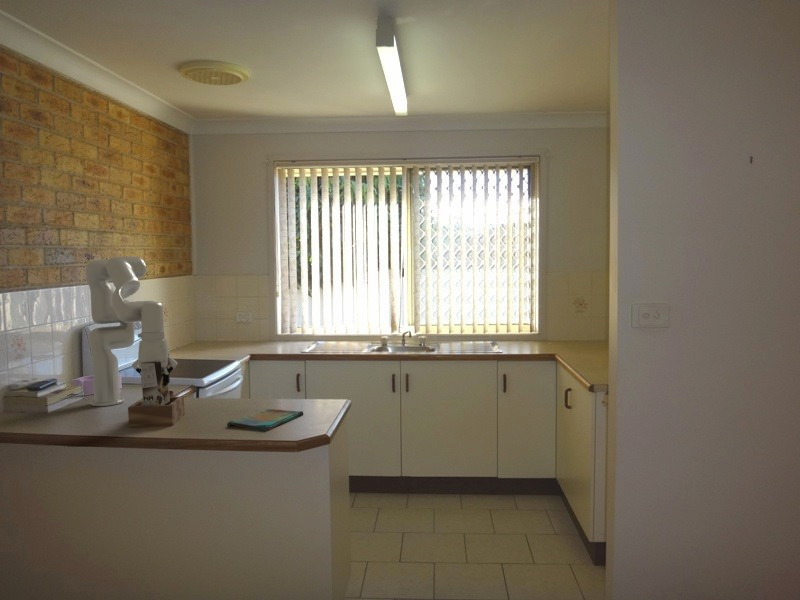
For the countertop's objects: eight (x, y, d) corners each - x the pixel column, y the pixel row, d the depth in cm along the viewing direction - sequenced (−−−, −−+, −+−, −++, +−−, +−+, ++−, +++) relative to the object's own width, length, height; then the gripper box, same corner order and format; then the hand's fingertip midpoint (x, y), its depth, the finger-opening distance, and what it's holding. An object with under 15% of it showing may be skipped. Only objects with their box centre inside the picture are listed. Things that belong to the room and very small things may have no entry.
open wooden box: (143, 416, 230) (142, 398, 230) (184, 414, 232) (183, 396, 231) (129, 427, 216) (127, 407, 215) (172, 425, 217) (171, 405, 216)
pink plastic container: (112, 386, 293) (111, 371, 292) (127, 388, 286) (126, 374, 285) (69, 394, 276) (68, 379, 276) (84, 397, 269) (83, 381, 269)
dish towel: (225, 428, 212) (224, 421, 212) (266, 412, 234) (266, 406, 233) (266, 433, 205) (265, 425, 205) (304, 416, 226) (304, 409, 226)
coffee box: (160, 407, 218) (158, 362, 217) (142, 408, 219) (140, 363, 218) (170, 401, 228) (168, 358, 227) (153, 402, 228) (151, 358, 227)
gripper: (124, 338, 217) (127, 388, 218) (174, 336, 218) (177, 386, 220) (132, 336, 225) (135, 384, 226) (180, 334, 226) (183, 382, 227)
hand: (155, 385), depth 223 cm, fingers closed on coffee box, 6 cm apart
